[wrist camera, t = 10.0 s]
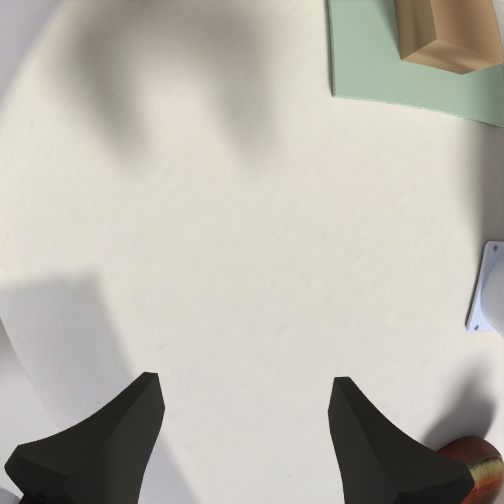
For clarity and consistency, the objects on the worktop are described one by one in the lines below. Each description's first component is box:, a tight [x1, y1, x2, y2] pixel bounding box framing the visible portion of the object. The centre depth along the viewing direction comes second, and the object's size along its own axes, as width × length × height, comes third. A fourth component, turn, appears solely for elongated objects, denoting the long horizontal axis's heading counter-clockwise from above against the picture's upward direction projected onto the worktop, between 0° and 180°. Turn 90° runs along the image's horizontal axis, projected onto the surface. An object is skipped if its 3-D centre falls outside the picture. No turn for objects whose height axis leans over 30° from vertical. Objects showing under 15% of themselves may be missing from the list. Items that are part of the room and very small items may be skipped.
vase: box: [438, 437, 504, 504], centre depth 21 cm, size 11×11×15 cm
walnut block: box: [394, 0, 504, 75], centre depth 13 cm, size 5×5×5 cm
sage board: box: [328, 0, 504, 127], centre depth 16 cm, size 14×11×1 cm
